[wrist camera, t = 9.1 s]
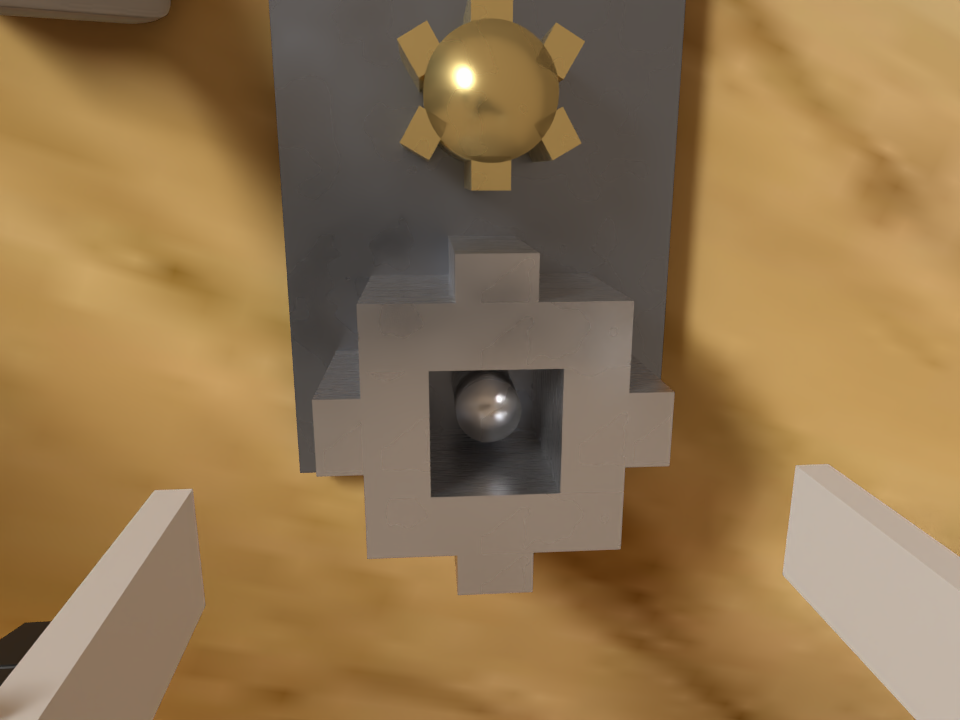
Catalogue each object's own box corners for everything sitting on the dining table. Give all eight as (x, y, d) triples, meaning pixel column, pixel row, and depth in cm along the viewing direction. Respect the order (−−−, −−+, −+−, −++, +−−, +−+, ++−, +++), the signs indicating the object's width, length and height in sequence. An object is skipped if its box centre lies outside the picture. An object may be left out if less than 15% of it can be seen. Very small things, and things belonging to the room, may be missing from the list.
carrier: (306, 457, 29) (280, 521, 24) (266, -165, 24) (221, -262, 19) (644, 448, 30) (691, 507, 25) (680, -151, 25) (750, -239, 20)
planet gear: (344, 513, 28) (323, 600, 23) (330, 236, 26) (303, 255, 20) (614, 504, 29) (661, 586, 23) (627, 235, 27) (684, 252, 21)
